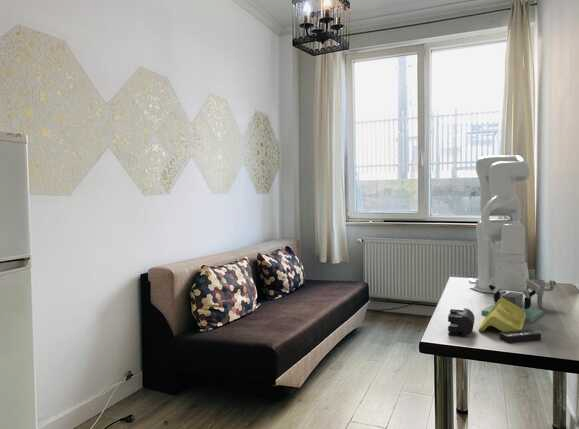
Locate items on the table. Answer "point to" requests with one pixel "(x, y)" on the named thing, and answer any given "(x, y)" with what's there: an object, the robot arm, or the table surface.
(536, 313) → the board
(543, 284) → the mechanical component
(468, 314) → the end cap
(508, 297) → the block
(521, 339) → the multiport hub
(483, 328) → the plastic component
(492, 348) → the table surface
